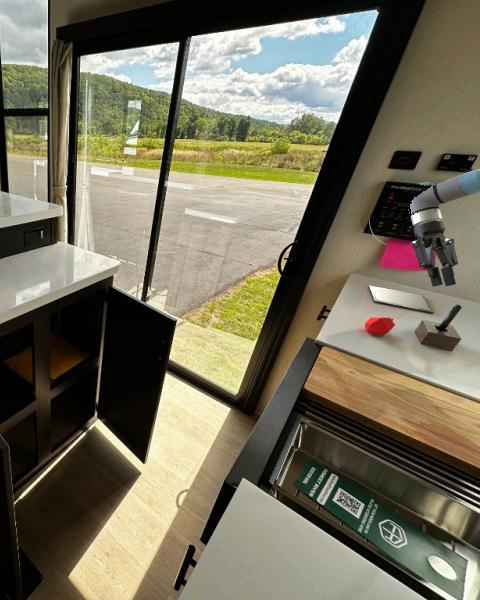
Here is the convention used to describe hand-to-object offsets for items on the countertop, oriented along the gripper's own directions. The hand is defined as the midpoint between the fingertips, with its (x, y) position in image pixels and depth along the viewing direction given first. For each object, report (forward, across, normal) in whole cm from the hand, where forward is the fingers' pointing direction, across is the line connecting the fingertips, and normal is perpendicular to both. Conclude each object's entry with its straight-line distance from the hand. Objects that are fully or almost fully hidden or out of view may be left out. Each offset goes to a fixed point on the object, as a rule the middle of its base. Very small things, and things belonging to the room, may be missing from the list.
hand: (444, 285), depth 112 cm
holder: (+20, +15, +5) cm, 25 cm away
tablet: (+3, +5, -12) cm, 13 cm away
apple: (+17, +29, +2) cm, 34 cm away
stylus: (+20, +15, +5) cm, 25 cm away
